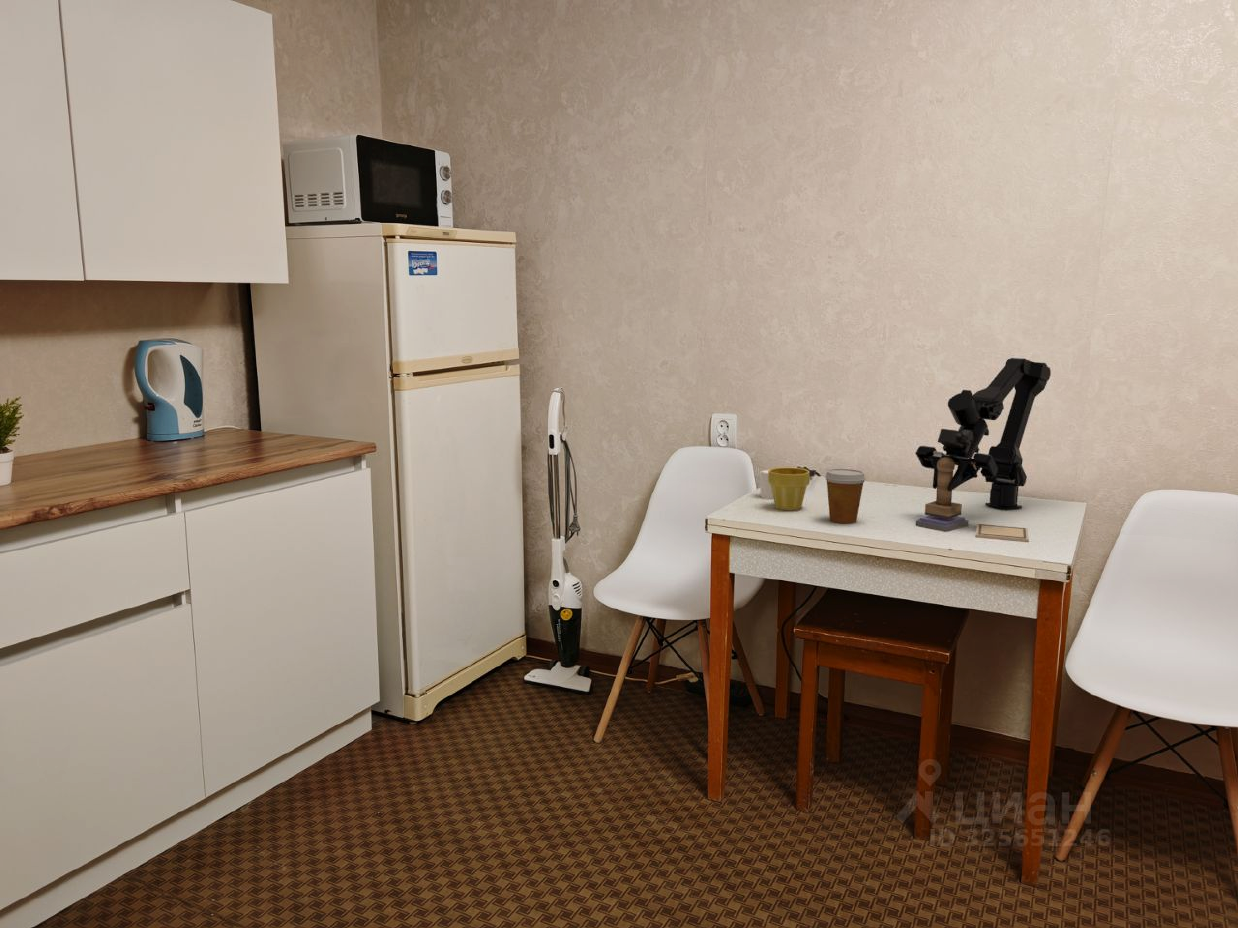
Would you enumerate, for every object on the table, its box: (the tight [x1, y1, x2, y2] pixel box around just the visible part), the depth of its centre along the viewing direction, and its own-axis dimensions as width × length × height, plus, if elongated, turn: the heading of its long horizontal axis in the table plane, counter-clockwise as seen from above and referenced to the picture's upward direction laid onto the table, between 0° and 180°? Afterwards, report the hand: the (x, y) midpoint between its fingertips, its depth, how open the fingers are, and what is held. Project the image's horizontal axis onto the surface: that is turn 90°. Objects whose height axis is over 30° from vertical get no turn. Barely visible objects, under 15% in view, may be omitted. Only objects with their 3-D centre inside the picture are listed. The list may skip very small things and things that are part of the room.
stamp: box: [924, 457, 963, 519], centre depth 221 cm, size 6×6×14 cm
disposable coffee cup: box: [824, 468, 866, 525], centre depth 226 cm, size 10×10×12 cm
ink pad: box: [915, 515, 970, 532], centre depth 222 cm, size 10×8×2 cm
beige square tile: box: [975, 523, 1030, 543], centre depth 215 cm, size 11×11×1 cm
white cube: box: [759, 469, 774, 500], centre depth 253 cm, size 7×7×7 cm
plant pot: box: [768, 466, 811, 512], centre depth 239 cm, size 10×10×10 cm
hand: (941, 489), depth 220 cm, fingers closed on stamp, 3 cm apart
